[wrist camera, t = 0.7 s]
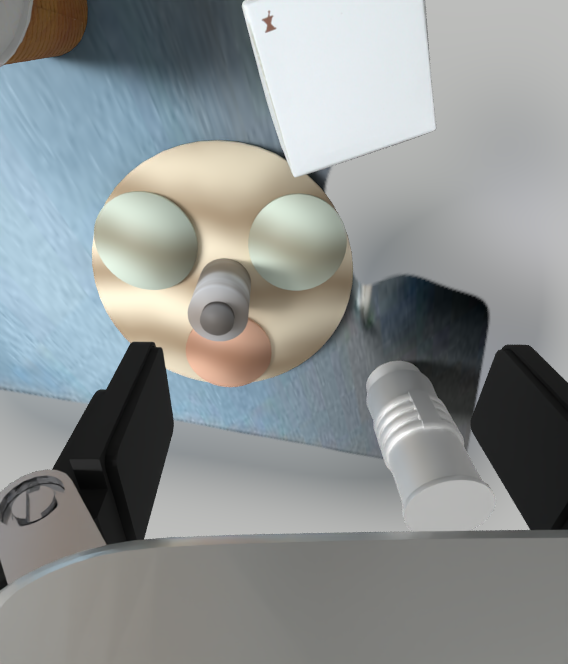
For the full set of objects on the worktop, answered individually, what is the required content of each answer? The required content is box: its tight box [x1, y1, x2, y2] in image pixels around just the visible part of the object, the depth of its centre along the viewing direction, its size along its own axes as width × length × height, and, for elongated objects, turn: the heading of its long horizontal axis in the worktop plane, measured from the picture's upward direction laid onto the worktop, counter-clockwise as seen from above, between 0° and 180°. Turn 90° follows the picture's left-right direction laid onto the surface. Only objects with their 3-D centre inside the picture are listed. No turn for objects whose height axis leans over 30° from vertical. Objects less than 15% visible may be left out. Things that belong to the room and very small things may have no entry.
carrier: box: [92, 140, 353, 387], centre depth 32 cm, size 22×22×8 cm
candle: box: [366, 361, 496, 532], centre depth 36 cm, size 7×7×15 cm
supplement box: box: [242, 0, 436, 177], centre depth 23 cm, size 7×7×13 cm
